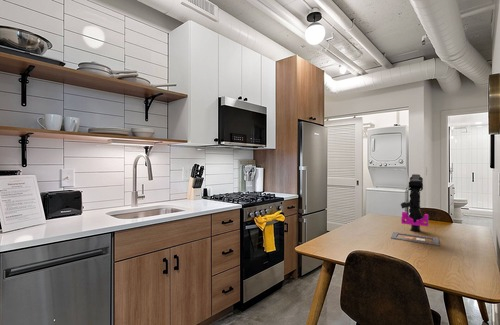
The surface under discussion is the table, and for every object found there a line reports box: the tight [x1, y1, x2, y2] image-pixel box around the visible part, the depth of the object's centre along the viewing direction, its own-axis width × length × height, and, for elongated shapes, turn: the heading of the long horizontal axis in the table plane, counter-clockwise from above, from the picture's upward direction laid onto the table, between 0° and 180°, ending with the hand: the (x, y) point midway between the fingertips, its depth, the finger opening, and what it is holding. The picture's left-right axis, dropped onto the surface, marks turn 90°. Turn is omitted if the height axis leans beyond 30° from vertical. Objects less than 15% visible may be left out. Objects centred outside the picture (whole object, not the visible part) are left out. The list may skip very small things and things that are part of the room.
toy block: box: [400, 211, 429, 227], centre depth 179 cm, size 15×6×8 cm, turn 53°
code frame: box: [390, 231, 440, 247], centre depth 179 cm, size 18×27×1 cm, turn 56°
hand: (414, 221), depth 179 cm, fingers closed on toy block, 6 cm apart
